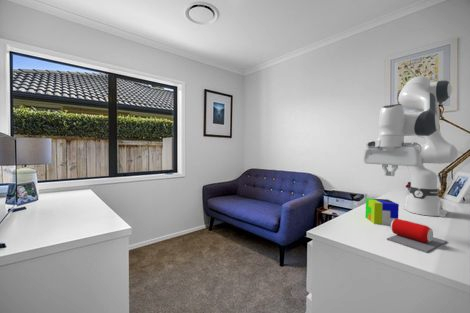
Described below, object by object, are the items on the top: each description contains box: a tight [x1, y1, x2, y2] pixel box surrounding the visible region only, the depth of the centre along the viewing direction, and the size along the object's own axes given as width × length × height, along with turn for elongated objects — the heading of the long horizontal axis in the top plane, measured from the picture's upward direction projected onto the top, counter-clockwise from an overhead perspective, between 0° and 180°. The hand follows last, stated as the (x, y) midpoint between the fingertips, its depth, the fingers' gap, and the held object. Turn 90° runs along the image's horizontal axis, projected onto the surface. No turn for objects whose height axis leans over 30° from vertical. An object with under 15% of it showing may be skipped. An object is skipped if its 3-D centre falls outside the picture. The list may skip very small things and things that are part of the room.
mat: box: [386, 234, 448, 254], centre depth 81 cm, size 18×12×1 cm, turn 119°
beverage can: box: [390, 218, 434, 243], centre depth 82 cm, size 6×6×12 cm
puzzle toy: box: [365, 198, 399, 226], centre depth 104 cm, size 10×10×10 cm
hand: (389, 175), depth 89 cm, fingers closed
